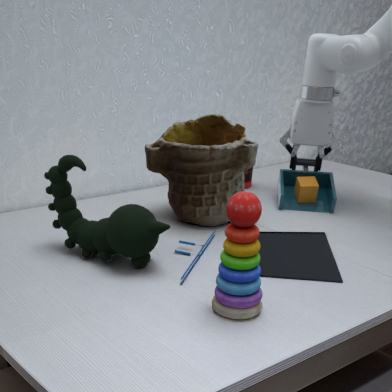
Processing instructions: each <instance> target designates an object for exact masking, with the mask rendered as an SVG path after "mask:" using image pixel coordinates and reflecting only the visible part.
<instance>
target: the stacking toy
mask: <svg viewBox="0 0 392 392" xmlns="http://www.w3.org/2000/svg"><path fill="white" fill-rule="evenodd" d="M262 211H263V205H262V203H261V200H260V199H259V197H258V196H257V195H256V194H255V193H253V192H251V191H246V190H245V191H242V192H238V193H236V194H234V195H233V196H232V197H231V198H230V199H229V201H228V203H227V206H226V214H227V217H228V219H229V221H228V222H230V223H228V224H227V225H226V227H225V229H224V235H225V237H226V238H225V239H224V241H223V244H222V247H223V250H222V251H221V253H220V257H219V258H220V262H219V264H218V268H217V269H218V274H217V275H216V277H215V284H216V286H215V288H214V296H213V297H212V300H211V306H212V308H213V310H214V311H215V313H217V314H218V315H219V316H222V317H224V318H227V319H231V320H248V319H251V318H254V317H256V316H257V315H258V314H260V313H261V311H262V310H263V302H262V298H263V290H262V288H261V286H262V278H261V277H259V276H260V273H261V268H260V266H259V262H260V255H259V253H258V252H259V250H260V242H259V241H258V240H257V238H258V237H259V234H260V229H259V226H258V225H256V224H257V223H258V221H259V220H260V218H261V216H262Z"/></svg>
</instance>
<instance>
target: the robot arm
mask: <svg viewBox="0 0 392 392" xmlns="http://www.w3.org/2000/svg"><path fill="white" fill-rule="evenodd" d="M391 54H392V4H391V6H390V7H389V8H388V9H387V11H386V12H385V13H384V14H383V15H382V16H381V17H380V18H379V19H378V20H377V21H376V22H375V23H374V24H373V25H372V26H371V27H369V29H367V30H366V31H365V32H364V33H361V34H359V33H358V34H345V35H339V34H336V33H323V32H321V33H320V32H316V33H313V34H311V35H310V36H309V38H308V42H307V48H306V55H305V63H304V69H303V75H302V83H301V90H300V97H299V98H297V99H296V100H295V103H294V107H293V110H292V116H291V120H290V124H289V128H288V129H287V130H286V132H285V133H283V135H282V136H281V137H280V138H279V139H278V141H279V143H280V144H281V145H282V146H283V147H284V148H285V150H286V151H287V152H288V153H289V155H290V160H289V170H297V166H296V163H297V158H298V156H297V155H298V154H297V153H298V151H299V149H300V146H309V147H311V146H312V147H317V153H318V154H317V155H316V156H315V159H316V166H315V167H313V171H319V172H321V170H322V164H323V159H325V157H326V156H327V155H329V153H331V152H332V151H333V150H335V149H337V148H338V147H339V146H340V143H339V141H338V139H337V138H336V135H335V134H334V132H333V129H334V119H335V101H333V100H334V98H336V97H337V98H339V96H340V90H338V89H336V88H335V85H336V80H337V75H338V73H340V74H346V75H355V74H361V73H366V72H369V71H371V70H372V69H374V68H375V67H377V66H378V65H379V64H381V62H383V61H384V60H386V58H388V56H390V55H391ZM288 140H289V142H290V143H291V144H292V145H291V144H290V143H289V142H288Z"/></svg>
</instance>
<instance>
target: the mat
mask: <svg viewBox="0 0 392 392" xmlns="http://www.w3.org/2000/svg"><path fill="white" fill-rule="evenodd" d="M259 231H260V230H259ZM257 240H258V241H259V242H260V250H259V252H258V253H259V255H260V262H259V266H260V268H261V273H260V276H259V277H260V278H261V277H262V278H273V279H274V278H275V279H289V280H300V281H314V282H327V283H344V280H343V277H342V275H341V272H340V269H339V267H338V264H337V261H336V258H335V256H334V254H333V250H332V248H331V245H330V243H329V240H328V236H327V234H326V232H325V231H263V230H262V231H260V234H259V237H258V238H257Z"/></svg>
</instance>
